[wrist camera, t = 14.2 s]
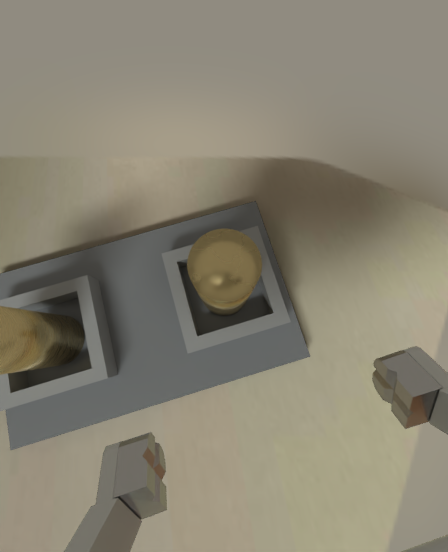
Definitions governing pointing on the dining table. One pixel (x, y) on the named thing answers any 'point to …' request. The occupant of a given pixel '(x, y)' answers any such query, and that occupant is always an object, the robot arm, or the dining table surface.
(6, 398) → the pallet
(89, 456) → the dining table surface
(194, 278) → the loose billet
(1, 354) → the seated billet
